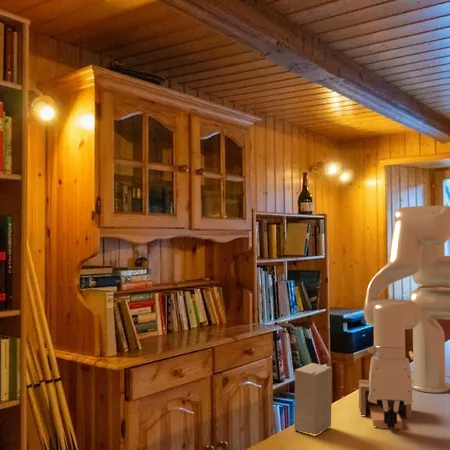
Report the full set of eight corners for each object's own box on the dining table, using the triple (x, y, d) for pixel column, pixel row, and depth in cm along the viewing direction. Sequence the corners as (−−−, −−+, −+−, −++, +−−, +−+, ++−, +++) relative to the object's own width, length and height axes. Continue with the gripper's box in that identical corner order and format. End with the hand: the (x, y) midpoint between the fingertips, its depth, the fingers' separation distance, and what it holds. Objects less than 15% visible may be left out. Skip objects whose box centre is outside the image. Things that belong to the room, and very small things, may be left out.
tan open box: (359, 407, 156) (358, 378, 156) (406, 409, 154) (406, 380, 154) (361, 416, 148) (360, 386, 148) (411, 418, 146) (411, 388, 146)
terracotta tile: (368, 413, 151) (368, 405, 151) (395, 414, 150) (395, 406, 150) (373, 428, 139) (373, 419, 139) (402, 429, 138) (401, 421, 138)
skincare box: (309, 422, 143) (309, 361, 144) (334, 428, 139) (333, 365, 139) (292, 432, 137) (291, 368, 137) (317, 438, 132) (316, 372, 133)
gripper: (360, 354, 135) (360, 430, 135) (423, 356, 133) (424, 433, 132) (357, 348, 143) (358, 420, 142) (417, 350, 140) (418, 423, 140)
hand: (390, 426), depth 137 cm, fingers closed
